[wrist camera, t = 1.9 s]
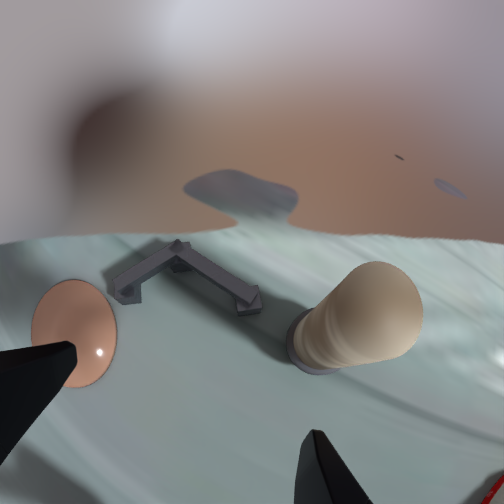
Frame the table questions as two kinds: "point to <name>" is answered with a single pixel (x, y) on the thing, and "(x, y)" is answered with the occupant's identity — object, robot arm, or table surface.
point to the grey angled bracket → (180, 261)
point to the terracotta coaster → (78, 328)
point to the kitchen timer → (496, 493)
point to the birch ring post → (358, 321)
